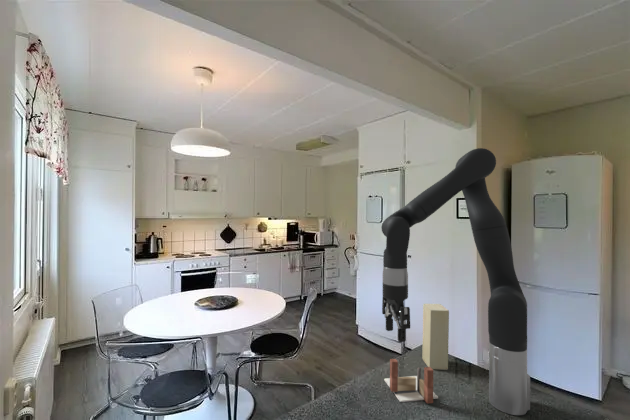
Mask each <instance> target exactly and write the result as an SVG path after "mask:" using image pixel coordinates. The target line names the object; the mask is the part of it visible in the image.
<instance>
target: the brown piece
mask: <svg viewBox="0 0 630 420" xmlns="http://www.w3.org/2000/svg"><path fill="white" fill-rule="evenodd" d="M416 369H417V370H416V371H417V373H416V374H417V375H416V376H417V390H418V391H419V393H420V394H421V395H422V396H423V397H424V400H423V401H425V403H426V404H427V405H428V404H433V403H434V399H433V392H434V369H432V368H431V367H428V366H426V367H424V369H423V371H424V373H423V378H424V379H423V378H422V377H421V376H422V369H421V367H420V366H419V367H417V368H416Z"/></svg>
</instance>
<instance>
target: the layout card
mask: <svg viewBox="0 0 630 420" xmlns="http://www.w3.org/2000/svg"><path fill="white" fill-rule="evenodd" d="M407 377H415V378H416V390H409V391H398V392H392V393H393V394H394V395H395V397H396V398H397V399H398V401H399V402H400V403H404V402H405V403H406V402H416V401H417V402H418V401H425V400H424V397H423V396H422V395H421V394H420V393H419V391H418V390H417V375H411V376H410V375H409V376H407ZM383 380H384V382H385V383H386V384H387V386H388V387H389V388H390V377H387V378H383ZM434 399H435V400H436V399H437V400H438V399H439V396H438V395H437V394H436V393H435V392H434V391H433V400H434Z"/></svg>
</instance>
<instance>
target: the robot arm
mask: <svg viewBox="0 0 630 420" xmlns="http://www.w3.org/2000/svg"><path fill="white" fill-rule="evenodd" d="M496 159H497V158H496V156H495V154H494V153H493V152H492V151H491V150H489V149H487V148H481V147H477V148H473V149H471V150H470V151H468V152H466V153H465V154H464V155H462V156H461V157H460V158H459V159H458V160H457V162H456V163H455V168H453V169H452V170H451V171H450V172H449V173H448V174H447V175H445V176H444V177H443V178H440V179H439V180H438V181H437V182H435V183H434V184H432V185H431V186H429V187H427V188H426V189H425V190H423V191H421V193H420V194H418V195H417V196H416V197H414V198H413V199H411V200H410V201H409V202H408V203H407V204H406V205H404V206H403V207H401V208H400V209H398V210H397V211H395V212H393V213H391V214H390V215H389V216H388V217H386V218H385V219H383V221H382V223H381V233H382V234H383V235H384V236H385V238H386V241H385V242H386V244H385V248H384V250H383V259H382V261H383V263H382V264H383V265H382V266H383V268H382V269H383V270H382V304H381V306H382V307H381V313H382V315H384V318H385V331H387V332H392V331H393V330H394V321H395V322H396V326H397V341H398V342H400V343H403V342H406V340H407V329H408V330H409V329H411V309H410V306H405V303H404V301H405V300H408V298H409V273H408V249H409V243H410V237H411V229H410V228H412V227H413V226H414V225H416V224H420V223H422V222H424V221H426V220H427V219H428V218H429V217H430V216H432V215H433V214H434V213H435V212H437V210H439V209H440V208H441V207H442V206H444V205H445V204H446V203H447V202H448V201H450V200H451V199H453V198H454V197H455V196H456V195H457V194H458V193H461V191H462V195H463V197H464V200H465V204H466V209H467V213H468V218H469V219H468V220H469V222H470V227H471V231H472V235H473V241H474V243H475V247H476V250H477V252H478V254H479V258H480V259H481V261H482V263H483V265H484V267H485V270H486V272H487V277H488V284H489V291H490V297H489V299H488V303H487V304H488V305H487V320H488V321H487V327H488V328H487V329H488V331H487V332H488V337H489V338H488V344H489V345H488V358H489V359H488V397H489V398H488V401H489V403H490V405H492V406H493V407H494V408H495V409H496V410H498V411H501V412H503V413H504V414H509V415H511V416H513V415H514V416H524V415H526V413H527V412H528V411H531V376H530V375H529V374H528V302H527V299H526V296H525V295H524V293H523V290H522V287H521V284H520V281H519V278H518V277H517V273H516V269H515V265H514V256H513V250H512V249H513V248H512V243H511V238H510V234H509V230H508V227H507V223H506V220H505V218H504V216H503V214H502V213H501V211H500V209H499V208H498V207H497V205H496V204H495V202H493V200H492V198H491V196H490V194H489V190H488V187H487V182H486V178H487V177H489V176H490V175H491V174H492V173H493V172H494V170H495V169H496V166H497V160H496Z"/></svg>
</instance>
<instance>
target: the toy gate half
mask: <svg viewBox="0 0 630 420" xmlns="http://www.w3.org/2000/svg"><path fill="white" fill-rule="evenodd" d="M398 363H399V362H398V360H397V359H396V358H390V359H389V378H390V387H389V389H390V392H391V393H393V392H398V391H409V390H416V378H415V377H408V376H399V375H398V373H399V368H398V367H399V365H398Z"/></svg>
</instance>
